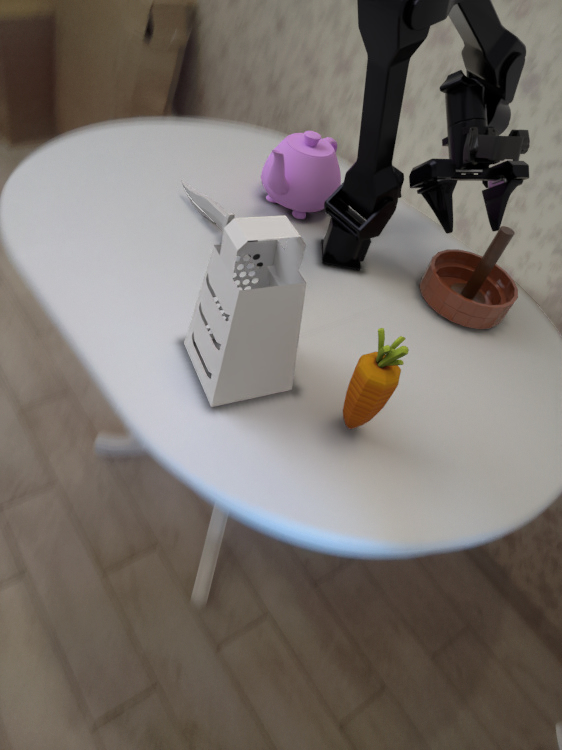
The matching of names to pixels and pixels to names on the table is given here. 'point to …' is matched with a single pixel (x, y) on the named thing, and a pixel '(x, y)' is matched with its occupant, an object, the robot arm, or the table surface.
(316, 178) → the teapot
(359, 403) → the carrot
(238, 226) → the grater
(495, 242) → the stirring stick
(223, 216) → the knife
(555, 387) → the table surface
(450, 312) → the bowl
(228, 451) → the table surface
